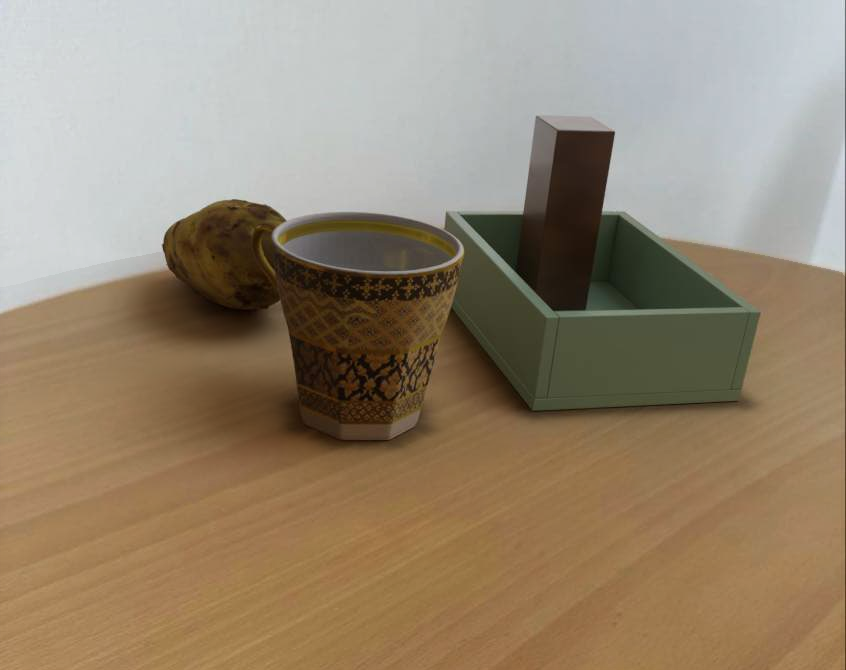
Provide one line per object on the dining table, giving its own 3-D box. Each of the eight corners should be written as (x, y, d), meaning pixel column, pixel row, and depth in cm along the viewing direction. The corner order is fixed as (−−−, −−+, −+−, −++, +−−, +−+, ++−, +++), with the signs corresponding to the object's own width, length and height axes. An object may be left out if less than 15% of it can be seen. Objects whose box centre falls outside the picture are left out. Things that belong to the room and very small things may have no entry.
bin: (611, 287, 86) (624, 211, 83) (739, 401, 71) (761, 311, 68) (438, 291, 83) (445, 210, 80) (532, 411, 67) (546, 317, 64)
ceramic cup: (480, 415, 66) (501, 244, 61) (372, 476, 59) (385, 288, 54) (308, 349, 72) (313, 188, 67) (191, 397, 65) (187, 221, 60)
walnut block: (564, 289, 83) (591, 116, 77) (586, 310, 80) (615, 131, 73) (512, 290, 82) (535, 115, 75) (532, 311, 79) (557, 129, 72)
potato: (280, 276, 83) (282, 163, 78) (307, 348, 72) (311, 221, 68) (162, 276, 81) (157, 160, 76) (171, 350, 70) (167, 219, 66)
